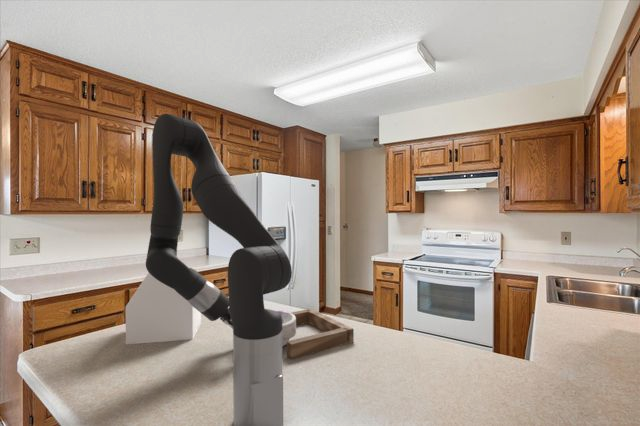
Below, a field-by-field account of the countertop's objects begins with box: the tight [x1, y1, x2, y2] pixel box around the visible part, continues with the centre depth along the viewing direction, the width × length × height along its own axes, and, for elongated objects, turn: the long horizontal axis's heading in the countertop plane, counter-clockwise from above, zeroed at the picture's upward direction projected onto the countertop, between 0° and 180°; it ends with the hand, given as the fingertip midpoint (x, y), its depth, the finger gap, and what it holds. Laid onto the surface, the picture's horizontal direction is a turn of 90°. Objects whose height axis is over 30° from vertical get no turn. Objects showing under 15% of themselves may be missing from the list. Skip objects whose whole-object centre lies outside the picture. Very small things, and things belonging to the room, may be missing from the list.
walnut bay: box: [286, 308, 355, 360], centre depth 105 cm, size 25×22×4 cm
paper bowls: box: [275, 310, 297, 348], centre depth 99 cm, size 15×15×8 cm
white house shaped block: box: [125, 272, 202, 345], centre depth 108 cm, size 19×15×25 cm
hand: (248, 333), depth 95 cm, fingers open, 8 cm apart
